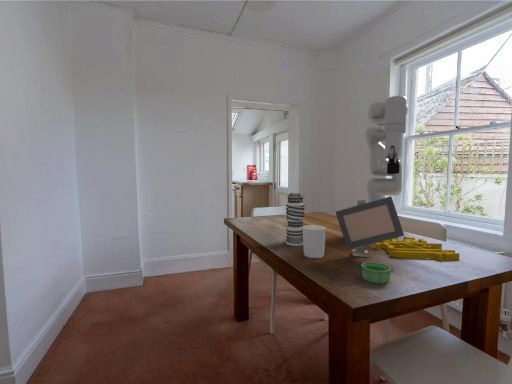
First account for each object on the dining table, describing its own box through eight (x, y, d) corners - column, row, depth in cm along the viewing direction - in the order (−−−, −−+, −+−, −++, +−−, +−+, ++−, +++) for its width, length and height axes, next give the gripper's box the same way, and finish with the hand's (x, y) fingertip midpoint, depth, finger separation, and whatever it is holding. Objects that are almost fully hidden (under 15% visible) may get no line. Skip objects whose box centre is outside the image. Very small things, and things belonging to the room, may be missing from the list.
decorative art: (365, 233, 142) (428, 236, 136) (365, 239, 142) (428, 241, 136) (382, 252, 109) (465, 256, 103) (382, 258, 109) (465, 263, 103)
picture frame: (347, 248, 112) (335, 211, 112) (403, 234, 106) (390, 196, 106) (347, 249, 110) (335, 212, 110) (404, 235, 104) (391, 196, 104)
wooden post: (352, 253, 116) (353, 199, 114) (367, 254, 114) (368, 199, 113) (353, 256, 112) (354, 200, 110) (368, 257, 110) (370, 200, 108)
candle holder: (300, 257, 110) (300, 228, 110) (304, 250, 120) (304, 224, 119) (324, 259, 107) (324, 230, 106) (326, 253, 116) (327, 225, 115)
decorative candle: (303, 246, 127) (303, 194, 125) (283, 245, 130) (284, 193, 128) (305, 242, 135) (306, 192, 133) (287, 240, 138) (287, 192, 136)
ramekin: (391, 286, 82) (392, 272, 81) (360, 282, 85) (360, 268, 85) (390, 276, 90) (390, 263, 90) (361, 272, 93) (361, 260, 93)
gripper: (387, 132, 113) (386, 173, 115) (380, 127, 99) (379, 174, 100) (407, 131, 109) (406, 173, 111) (403, 125, 95) (402, 174, 96)
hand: (393, 173), depth 105 cm, fingers open, 9 cm apart
